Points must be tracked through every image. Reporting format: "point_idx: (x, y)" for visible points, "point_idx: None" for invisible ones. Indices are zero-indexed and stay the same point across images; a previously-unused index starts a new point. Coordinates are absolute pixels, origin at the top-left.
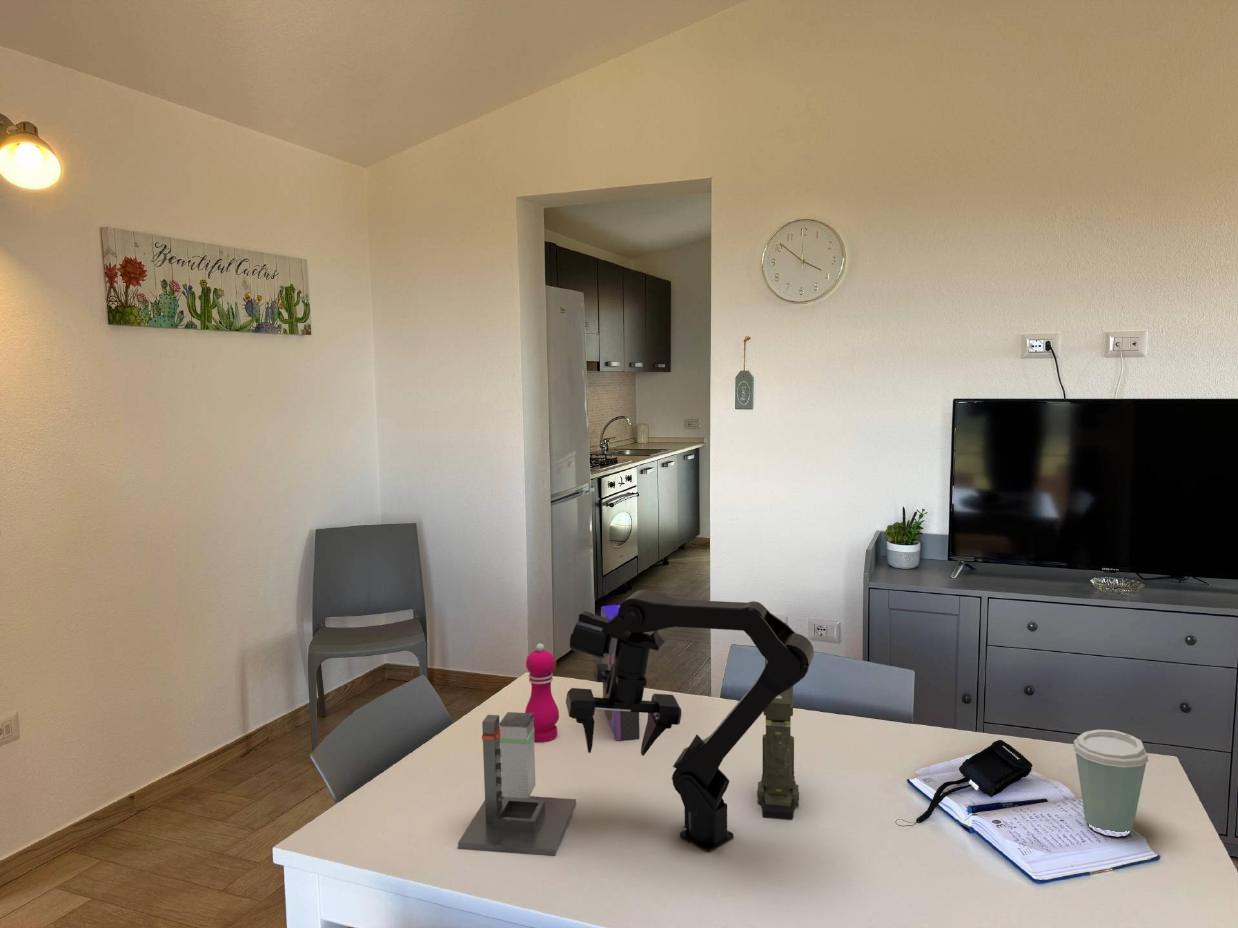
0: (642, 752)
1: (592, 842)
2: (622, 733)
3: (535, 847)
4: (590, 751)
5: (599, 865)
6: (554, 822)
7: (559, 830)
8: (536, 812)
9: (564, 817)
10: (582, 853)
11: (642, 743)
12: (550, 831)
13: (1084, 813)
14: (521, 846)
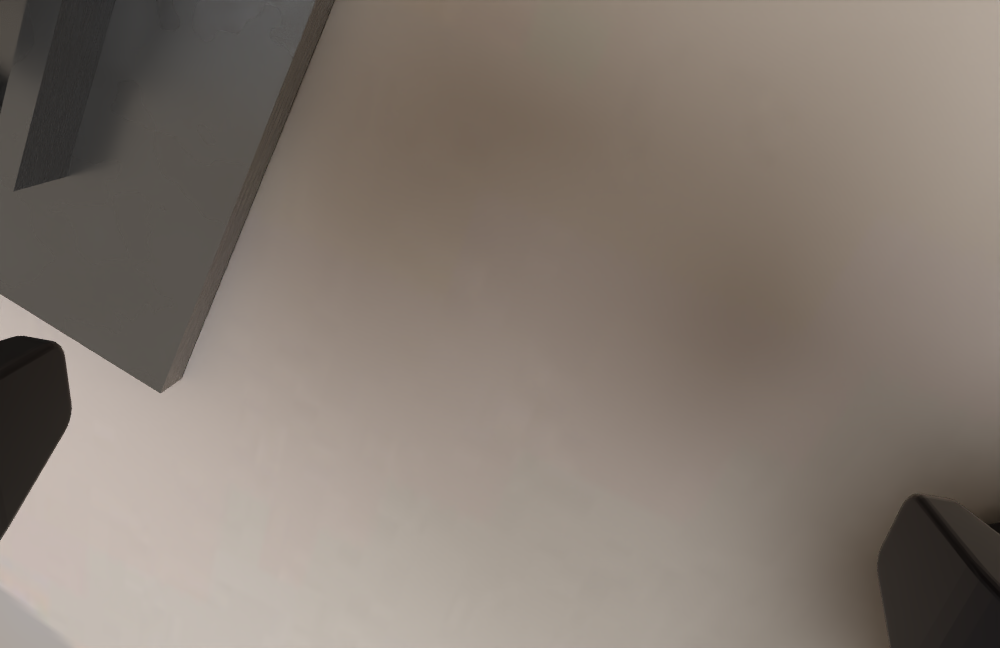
0: (889, 608)
1: (387, 355)
2: None
3: (67, 329)
4: (51, 446)
5: (368, 546)
6: (186, 114)
7: (204, 221)
8: (27, 77)
9: (254, 79)
10: (312, 422)
11: (979, 626)
12: (152, 210)
13: None
14: (1, 286)
